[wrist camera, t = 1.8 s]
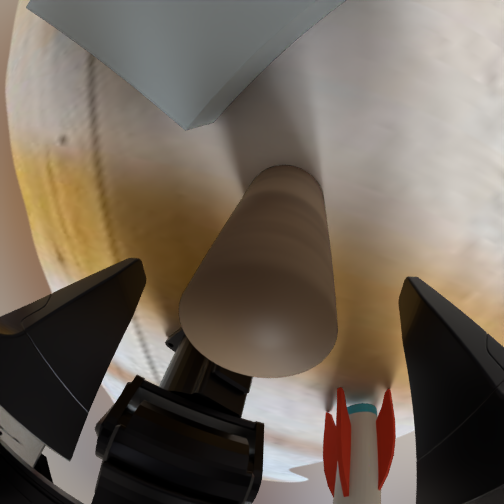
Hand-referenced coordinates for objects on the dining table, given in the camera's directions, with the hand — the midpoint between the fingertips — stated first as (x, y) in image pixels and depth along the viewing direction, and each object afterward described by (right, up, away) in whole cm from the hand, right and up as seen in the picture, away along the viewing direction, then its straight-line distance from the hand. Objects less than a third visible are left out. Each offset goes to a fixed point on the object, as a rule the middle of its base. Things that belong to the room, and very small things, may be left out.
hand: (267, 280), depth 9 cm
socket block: (-3, +16, -1) cm, 17 cm away
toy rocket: (+10, -13, +14) cm, 22 cm away
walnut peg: (+1, +3, +6) cm, 7 cm away
